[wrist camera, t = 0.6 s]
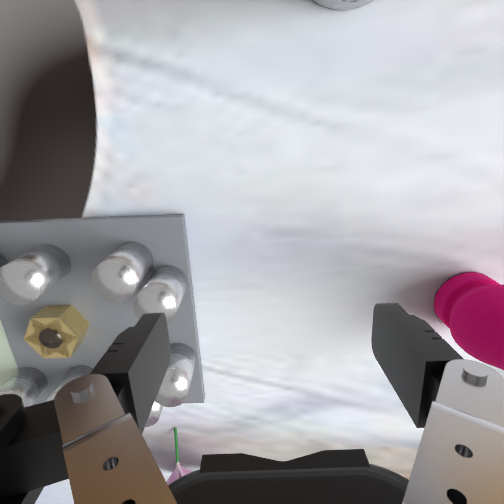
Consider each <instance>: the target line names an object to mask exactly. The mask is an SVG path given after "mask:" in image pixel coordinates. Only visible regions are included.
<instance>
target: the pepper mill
mask: <svg viewBox="0 0 504 504" xmlns="http://www.w3.org/2000/svg"><path fill="white" fill-rule="evenodd" d="M434 309H435V312H436V314H437V316H438V317H439V319H440V320H441V321H442V322H443V323H444V324H445V325H446V326H447V327H449V328H450V331H451V335H452V337H453V339H454V340H455V342H456V343H457V344H458V345H459V346H460V347H461V348H462V349H463V350H464V351H466V352H467V353H468V354H469V355H471V356H473V357H474V358H476V359H478V360H480V361H482V362H484V363H486V364H489V365H492V366H495V367H497V368H500V369H503V370H504V285H500V284H499V283H497V282H496V281H494V280H493V279H491V278H489V277H488V276H486V275H484V274H481V273H476V272H467V273H462V274H459V275H457V276H454V277H452V278H450V279H449V280H448V281H447V282H445V283H444V284H443V285H442V286H441V288H440V289H439V290H438V292H437V294H436V296H435V301H434Z"/></svg>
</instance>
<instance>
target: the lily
mask: <svg viewBox="0 0 504 504" xmlns="http://www.w3.org/2000/svg"><path fill="white" fill-rule="evenodd" d="M174 434H175V450H176V468H175V469H174V471H173V473H172V474H171V476H170V477H169V479H168V480H167V482H166V483H167V485H169V484H171V483H172V482H174V481H175V480H177V479H179V478H180V477H182V476H184V475H186V474H189V473H191V472H193V471H190V470H188V469H186V468H184V467H182V466H180V464H179V456H178V443H177V428H174Z"/></svg>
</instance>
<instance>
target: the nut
mask: <svg viewBox="0 0 504 504" xmlns="http://www.w3.org/2000/svg"><path fill="white" fill-rule="evenodd" d="M89 325H90V323H89V322H88V321H87V320H86V319H85V318H84V317H83V316H82V315H81V314H80V313H79V312H78V311H77V310H76V308H75V307H74V306H73V305H49V306H45V307H44V308H43V309H41V310H40V311H39V312H38V313H37V314H35V315H34V316H33V317H32V318H31V319H30V322H29V325H28V328H27V331H26V334H25V337H24V340H25V341H26V342H27V343H28V344H29V345H30V346H31V347H32V348H33V349H34V350H35V351H36V352H37V353H39V354H40V355H41V356H42V357H43V358H70V357H71V356H72V355H73V353H74V352H75V351H76V350H77V349H78V347H79V346H80V345H81V344H82V342H83V339H84V337H85V335H86V332H87V330H88V327H89Z"/></svg>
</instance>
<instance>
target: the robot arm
mask: <svg viewBox="0 0 504 504" xmlns="http://www.w3.org/2000/svg"><path fill="white" fill-rule="evenodd" d="M314 1H315V2H317V3H318V4H320V5H322V6H325V7H328V8H331V9H339V10H348V9H354V8H358V7H361V6H363V5H365V4H368V3H370V2H372V1H373V0H314ZM372 349H373V353H374V356H375V358H376V359H377V361H378V363H379V365H380V366H381V368H382V370H383V371H384V373H385V375H386V376H387V378H388V380H389V381H390V383H391V385H392V386H393V388H394V390H395V391H396V393H397V395H398V397H399V398H400V400H401V402H402V403H403V405H404V407H405V408H406V410H407V412H408V413H409V415H410V417H411V418H412V420H413V422H414V423H415V425H416V427H417V428H424V432H423V435H422V438H421V442H420V445H419V449H418V452H417V455H416V459H415V462H414V465H413V469H412V472H411V475H410V479H409V480H408V479H406V478H404V477H402V476H401V475H399V474H397V473H395V472H393V471H390V470H388V469H386V468H383V467H380V466H376V465H373V464H369V462H368V460H367V457H366V454H365V451H364V449H351V450H324V451H320V452H317V453H313V454H310V455H307V456H303V457H300V458H296V459H293V460H289V461H284V462H282V461H276V460H271V459H266V458H261V457H257V456H252V455H247V454H242V453H239V454H211V455H202V461H201V467H200V470H197V471H194V472H191V473H189V474H186V475H184V476H182V477H180V478H179V479H177V480H175V481H174V482H172V483H171V484H169V485H167V483H166V481H165V479H164V477H163V475H162V473H161V471H160V469H159V467H158V465H157V463H156V462H155V460H154V458H153V456H152V454H151V452H150V450H149V448H148V446H147V444H146V442H145V440H144V438H143V436H142V432H143V430H144V427H145V425H146V422H147V420H148V417H149V415H150V412H151V410H152V407H153V405H154V402H155V399H156V397H157V394H158V392H159V389H160V387H161V384H162V382H163V379H164V377H165V374H166V371H167V369H168V366H169V363H170V357H171V348H170V341H169V334H168V327H167V321H166V316H165V314H164V313H144V314H143V315H142V316H141V318H140V319H139V321H138V322H137V324H136V325H135V327H128V328H127V329H126V330H124V331H123V332H121V333H120V334H119V335H118V336H117V337H116V339H115V340H114V341H113V343H112V345H110V347H109V348H108V349H107V352H105V354H104V355H103V356H102V358H101V359H100V360H99V362H98V363H97V364H96V366H95V367H94V369H93V370H92V371H91V373H90V374H89V375H85V376H81V377H79V378H76V379H74V380H72V381H70V382H69V383H67V384H66V385H64V386H63V387H62V388H61V389H60V390H59V391H58V392H57V393H56V395H55V398H54V400H51V401H47V402H43V403H39V404H35V405H31V406H28V407H24V404H23V401H22V398H21V397H20V396H19V395H16V394H3V395H0V504H35V502H36V500H37V498H38V497H39V495H40V493H41V491H42V489H43V488H44V486H47V485H50V484H53V483H56V482H59V481H63V480H66V479H69V481H70V485H71V490H72V495H73V499H74V504H504V378H503V376H502V375H501V374H500V373H498V372H497V371H496V370H494V369H493V368H491V367H489V366H487V365H484V364H482V363H479V362H476V361H472V360H465V359H463V358H462V357H461V356H460V355H459V354H458V353H457V352H456V351H455V350H454V349H453V348H452V347H451V346H450V345H449V344H448V343H447V342H446V341H445V340H444V339H442V337H441V336H440V335H439V334H438V333H437V332H435V330H434V329H433V328H432V327H431V326H430V325H429V324H428V323H427V322H425V321H423V320H421V319H420V318H418V317H416V316H414V315H409V314H408V313H407V312H406V311H405V310H404V309H403V308H402V307H401V306H400V305H399V304H398V303H380V304H376V305H375V307H374V313H373V327H372Z"/></svg>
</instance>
